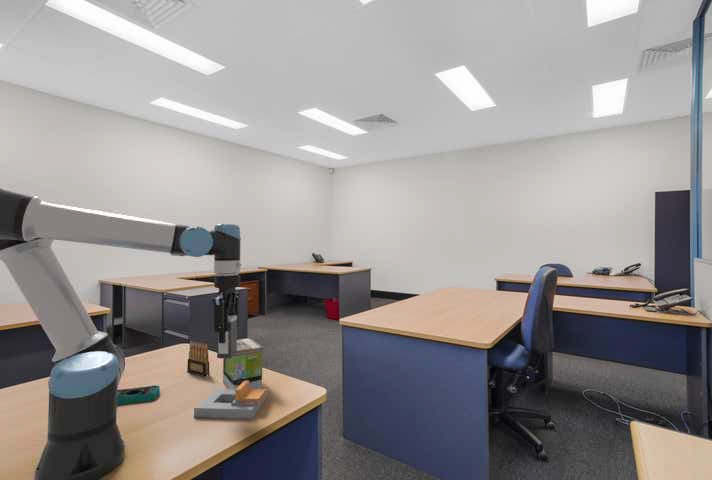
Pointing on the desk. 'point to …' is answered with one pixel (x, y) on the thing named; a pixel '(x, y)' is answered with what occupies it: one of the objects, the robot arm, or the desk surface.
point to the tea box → (244, 365)
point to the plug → (230, 338)
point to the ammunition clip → (198, 359)
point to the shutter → (248, 393)
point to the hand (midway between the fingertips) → (227, 350)
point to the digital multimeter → (137, 394)
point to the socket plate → (226, 406)
